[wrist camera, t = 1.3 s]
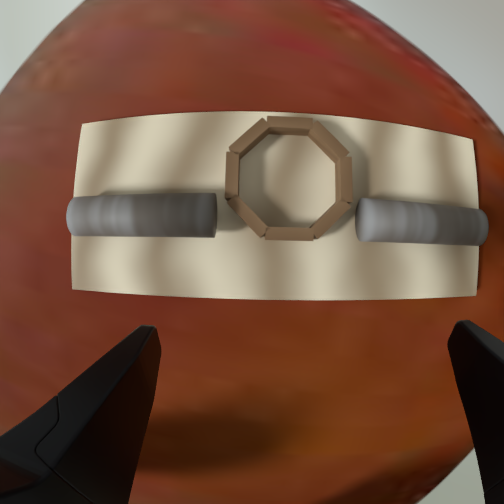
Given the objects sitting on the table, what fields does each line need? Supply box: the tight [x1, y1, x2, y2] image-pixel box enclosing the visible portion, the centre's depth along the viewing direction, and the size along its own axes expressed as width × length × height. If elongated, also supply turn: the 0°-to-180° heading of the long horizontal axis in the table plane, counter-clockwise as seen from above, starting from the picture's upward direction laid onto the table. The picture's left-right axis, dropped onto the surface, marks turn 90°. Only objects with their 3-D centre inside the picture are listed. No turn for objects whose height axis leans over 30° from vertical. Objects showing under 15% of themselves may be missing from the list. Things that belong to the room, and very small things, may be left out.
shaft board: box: [66, 111, 489, 300], centre depth 20 cm, size 32×13×4 cm, turn 89°
